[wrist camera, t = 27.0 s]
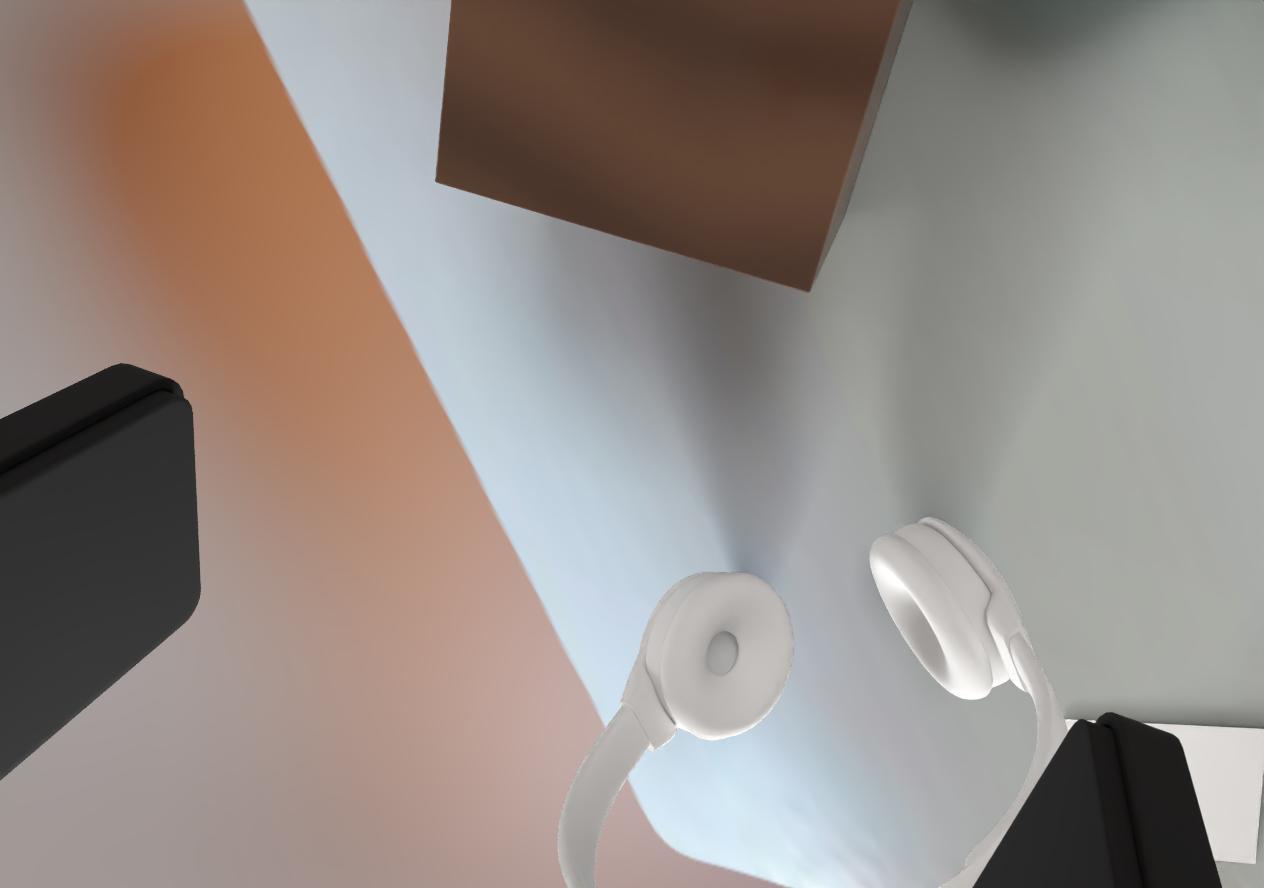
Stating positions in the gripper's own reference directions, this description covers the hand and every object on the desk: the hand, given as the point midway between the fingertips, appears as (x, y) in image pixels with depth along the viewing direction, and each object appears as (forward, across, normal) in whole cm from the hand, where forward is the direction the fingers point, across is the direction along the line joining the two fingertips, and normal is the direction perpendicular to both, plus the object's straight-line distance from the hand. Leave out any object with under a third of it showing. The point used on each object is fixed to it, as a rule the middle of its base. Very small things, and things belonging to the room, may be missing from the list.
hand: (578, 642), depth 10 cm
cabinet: (+30, +6, -4) cm, 31 cm away
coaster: (+30, -22, +24) cm, 44 cm away
